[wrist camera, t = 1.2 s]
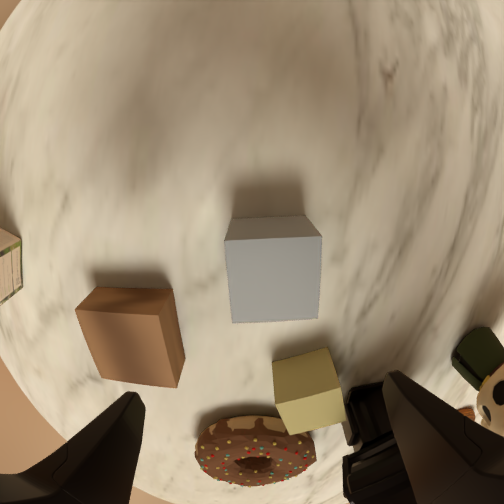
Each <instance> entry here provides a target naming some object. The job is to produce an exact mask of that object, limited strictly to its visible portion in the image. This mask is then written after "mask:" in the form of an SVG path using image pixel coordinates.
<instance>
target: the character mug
mask: <svg viewBox="0 0 504 504" xmlns="http://www.w3.org/2000/svg"><path fill="white" fill-rule="evenodd" d="M456 350H457V351H458V353H459V354H460V355H461V356H460V360H459V361H458V360H457V359H456V358H455V357H454V356H453V358H452V366H453V367H454V368H455V369H456V370H457V371H458V372H459V373H460V374H461V376H462V377H463V378H464V379H465V380H466V381H467V382H468V383H469V384H471V385H472V386H473V387H474V388H475V389H476V390H477V391H479V393H478V396H477V409H478V412H479V414H480V415H481V416H482V418H483V419H482V421H481V425H482V426H483V427H485V428H487V429H489V430H491V431H493V432H495V433H497V434H499V435H501V436H503V437H504V347H503V346H502V344H501V343H500V341H499V340H498V338H497V337H496V336H495V334H494V333H493V332H492V330H491V329H490V328H489V327H481V328H478V329H475V330H473V331H472V332H471V333H470V334H468V335H467V336H466V337H465V338H464V339H463V341H462V342H461V343H460V345H459V346H458V347H457V349H456Z"/></svg>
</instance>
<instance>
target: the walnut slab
mask: <svg viewBox="0 0 504 504" xmlns="http://www.w3.org/2000/svg"><path fill="white" fill-rule="evenodd" d="M75 312H76V315H77V318H78V321H79V324H80V326H81V329H82V332H83V335H84V337H85V340H86V342H87V345H88V348H89V350H90V352H91V355H92V357H93V360H94V362H95V364H96V367H97V369H98V371H99V373H100V375H101V378H104V379H110V380H116V381H122V382H128V383H135V384H142V385H150V386H159V387H168V388H177V386H178V382H179V379H180V375H181V372H182V369H183V365H184V362H185V353H184V348H183V343H182V338H181V333H180V328H179V323H178V317H177V311H176V305H175V299H174V293H173V289H147V288H109V287H96V288H95V289H94V290H93V291H92V292H91V293H90V294H89V295H88V296H87V297H86V298H85V299H84V300H83V301H82V302H81V303H80V304H79V305H78V306H77V308H76V309H75Z"/></svg>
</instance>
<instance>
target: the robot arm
mask: <svg viewBox="0 0 504 504" xmlns="http://www.w3.org/2000/svg"><path fill="white" fill-rule="evenodd" d="M344 409H345V415H346V421H343V422H341V424H342V426H343V430H344V434H345V438H346V441H347V445H349V446H353V448H354V453H352V454H350V455H346V456H343V463H342V469H343V492H344V493H343V495H344V497H345V498H347V499H348V501H349V503H350V504H504V437H503V436H501V435H499V434H497V433H495V432H493V431H491V430H489V429H487V428H485V427H483V426H481V425H480V424H478V423H476V422H475V421H473V420H472V419H470V418H469V417H467V416H464V414H462V413H461V412H459V411H458V410H456V409H455V408H453V407H452V406H450V405H449V404H447V403H446V402H444V401H443V400H441V399H440V398H438V397H437V396H435V395H434V394H432V393H431V392H429V391H428V390H427V389H425V388H424V387H422V386H421V385H419V384H418V383H416V382H415V381H413V380H412V379H410V378H409V377H407V376H406V375H404V374H403V373H401V372H400V371H398V370H394V371H390V372H387V374H386V376H385V380H384V382H381V383H376V384H371V385H366V386H360V387H355V388H352V389H351V390H350V391H349V395H348V398H347V402H346V404H345V405H344ZM145 411H146V409H145V405H144V403H143V402H142V400H141V398H140V396H139V394H138V393H137V392H130V391H128V392H126V393H124V394H123V395H122V396H121V397H120V398H118V399H117V400H116V401H115V402H114V403H113V404H111V405H110V406H109V407H108V408H107V409H106V410H104V411H103V412H102V413H101V414H100V415H99V416H97V417H96V418H95V419H94V420H93V421H91V422H90V423H89V424H88V425H87V426H85V427H84V428H83V429H82V430H81V431H79V432H78V433H77V434H76V435H75V436H73V437H72V438H71V439H70V440H69V441H67V443H65V444H64V445H62V446H61V447H60V448H59V449H57V450H56V451H55V452H54V453H52V454H51V455H49V456H48V457H46V458H45V459H43V460H42V461H40V462H39V463H37V464H35V465H34V466H32V467H30V468H29V469H27V470H26V471H24V472H21V473H18V474H0V504H129V500H130V495H131V490H132V485H133V480H134V475H135V471H136V466H137V462H138V457H139V453H140V449H141V444H142V436H143V427H144V419H145Z"/></svg>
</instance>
